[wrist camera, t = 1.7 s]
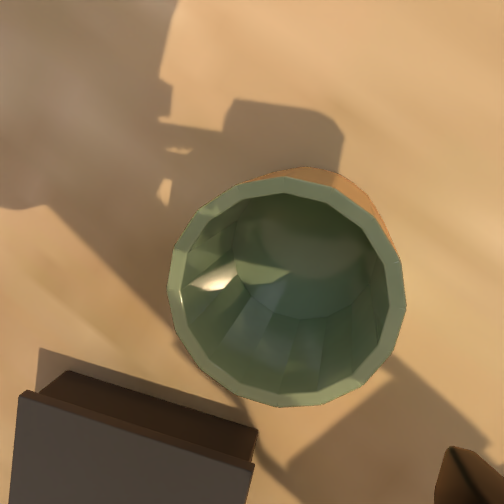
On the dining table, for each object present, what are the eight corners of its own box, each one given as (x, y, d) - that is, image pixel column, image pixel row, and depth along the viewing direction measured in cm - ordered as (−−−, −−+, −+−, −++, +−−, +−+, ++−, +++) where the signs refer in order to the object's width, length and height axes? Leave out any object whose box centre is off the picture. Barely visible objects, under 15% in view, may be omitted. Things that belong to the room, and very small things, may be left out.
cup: (407, 188, 19) (437, 211, 12) (361, 340, 20) (367, 435, 14) (244, 151, 20) (189, 153, 13) (213, 300, 21) (151, 370, 15)
